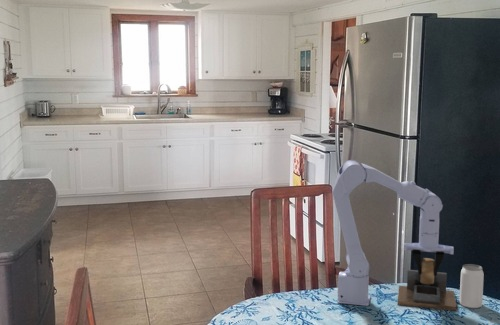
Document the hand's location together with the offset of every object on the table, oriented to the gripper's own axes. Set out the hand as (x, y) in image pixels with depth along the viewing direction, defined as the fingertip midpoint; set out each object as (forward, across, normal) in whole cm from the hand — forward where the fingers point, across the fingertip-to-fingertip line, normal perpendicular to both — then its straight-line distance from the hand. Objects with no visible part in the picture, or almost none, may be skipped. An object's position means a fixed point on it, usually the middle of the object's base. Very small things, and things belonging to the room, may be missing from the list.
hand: (427, 274), depth 171 cm
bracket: (+9, 0, +2) cm, 9 cm away
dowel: (+2, 0, 0) cm, 2 cm away
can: (+9, +13, +1) cm, 16 cm away
